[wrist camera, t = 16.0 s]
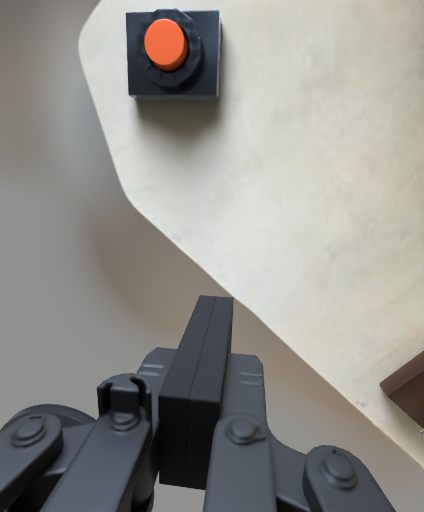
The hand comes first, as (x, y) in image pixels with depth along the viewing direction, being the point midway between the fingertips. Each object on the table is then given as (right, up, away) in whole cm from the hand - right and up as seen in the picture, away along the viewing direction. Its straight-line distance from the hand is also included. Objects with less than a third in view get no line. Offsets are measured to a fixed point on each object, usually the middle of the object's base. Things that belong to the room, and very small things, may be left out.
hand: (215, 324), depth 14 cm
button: (-5, +24, +18) cm, 31 cm away
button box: (-4, +25, +22) cm, 34 cm away
